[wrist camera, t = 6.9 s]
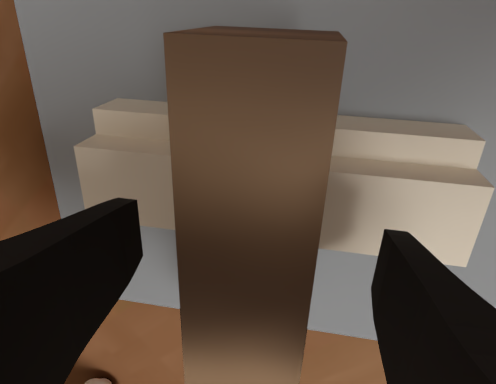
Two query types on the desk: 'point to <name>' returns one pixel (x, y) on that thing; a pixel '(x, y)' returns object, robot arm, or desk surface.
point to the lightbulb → (98, 381)
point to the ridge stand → (345, 139)
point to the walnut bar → (249, 192)
